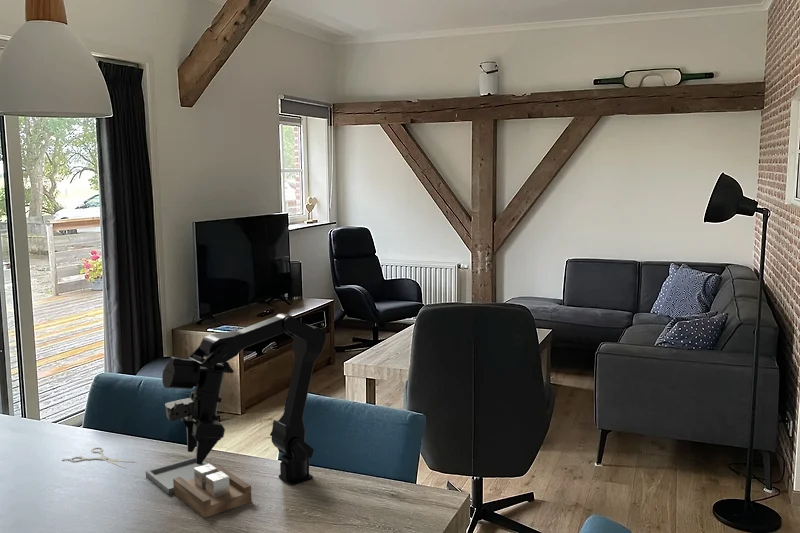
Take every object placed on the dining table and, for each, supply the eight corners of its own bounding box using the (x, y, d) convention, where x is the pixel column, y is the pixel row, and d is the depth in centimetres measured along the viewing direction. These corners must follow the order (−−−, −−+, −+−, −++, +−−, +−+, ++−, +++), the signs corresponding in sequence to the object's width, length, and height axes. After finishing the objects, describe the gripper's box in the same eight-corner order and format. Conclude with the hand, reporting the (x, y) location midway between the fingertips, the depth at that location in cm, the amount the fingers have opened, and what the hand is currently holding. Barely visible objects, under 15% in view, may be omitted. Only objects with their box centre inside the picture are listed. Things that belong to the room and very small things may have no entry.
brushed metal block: (221, 487, 167) (220, 471, 167) (229, 492, 164) (229, 476, 164) (206, 492, 165) (205, 475, 164) (214, 497, 162) (213, 481, 161)
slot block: (219, 480, 177) (218, 464, 176) (251, 501, 165) (251, 485, 165) (173, 494, 169) (173, 478, 168) (204, 518, 157) (203, 501, 157)
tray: (197, 461, 188) (196, 456, 188) (222, 478, 178) (221, 472, 178) (145, 476, 179) (145, 471, 179) (169, 495, 169) (168, 489, 169)
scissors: (93, 445, 199) (146, 456, 191) (93, 448, 199) (146, 459, 191) (61, 459, 189) (116, 471, 181) (61, 462, 189) (116, 474, 181)
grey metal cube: (209, 479, 172) (209, 463, 171) (217, 484, 169) (217, 468, 168) (194, 483, 169) (193, 468, 169) (202, 489, 166) (201, 473, 166)
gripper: (164, 378, 164) (151, 443, 164) (180, 396, 148) (165, 469, 147) (211, 383, 170) (198, 446, 169) (231, 400, 153) (217, 471, 153)
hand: (194, 457), depth 159 cm, fingers open, 9 cm apart
